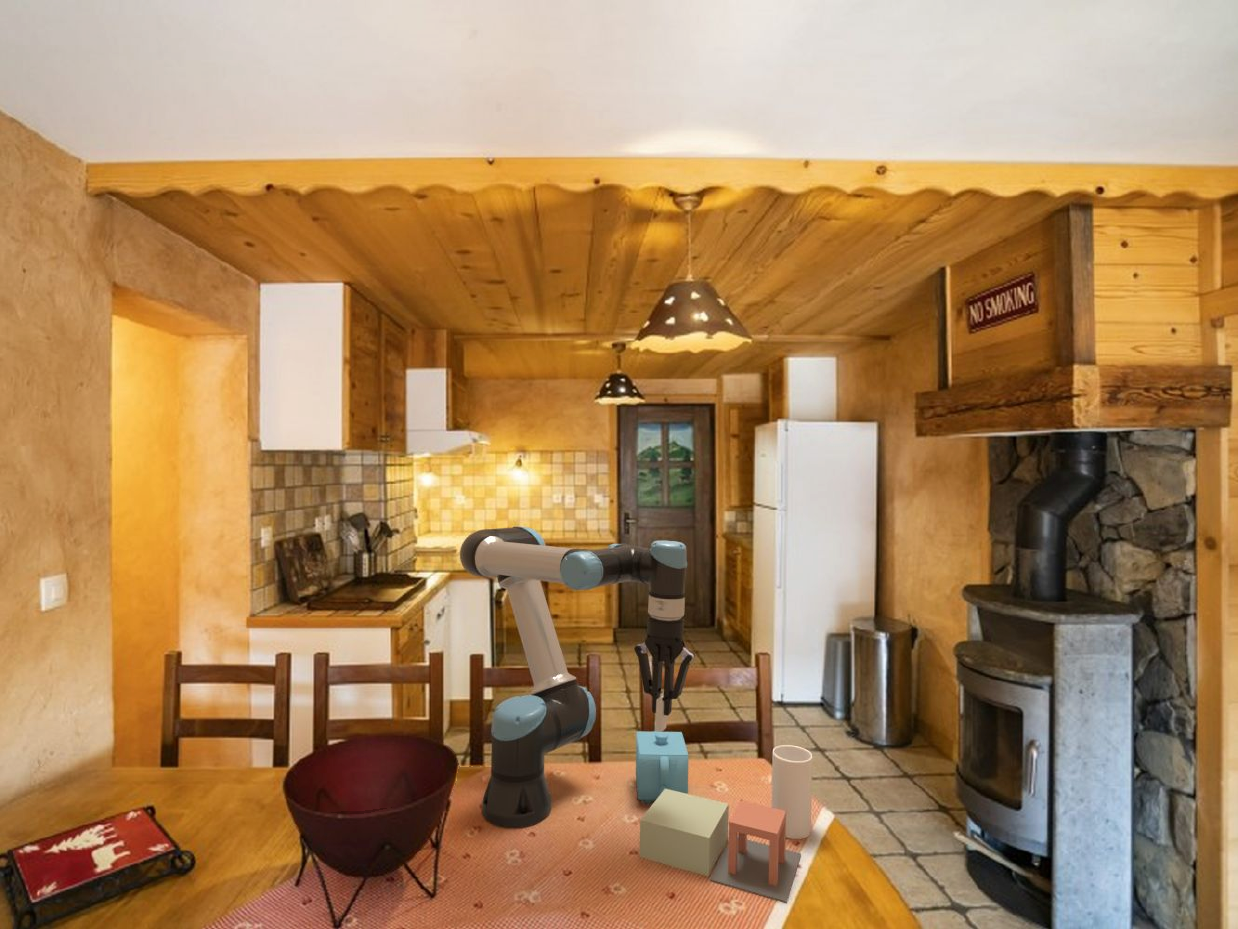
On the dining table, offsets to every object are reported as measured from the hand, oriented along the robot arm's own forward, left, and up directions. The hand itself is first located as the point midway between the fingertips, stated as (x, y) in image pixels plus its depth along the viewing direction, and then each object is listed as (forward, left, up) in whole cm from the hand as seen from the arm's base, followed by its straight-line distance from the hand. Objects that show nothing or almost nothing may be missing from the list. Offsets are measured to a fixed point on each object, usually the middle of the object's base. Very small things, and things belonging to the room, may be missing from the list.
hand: (660, 729), depth 135 cm
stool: (+17, -2, -17) cm, 24 cm away
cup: (+24, +15, -22) cm, 36 cm away
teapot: (-7, +18, -22) cm, 29 cm away
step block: (+6, -2, -22) cm, 23 cm away
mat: (+21, -2, -22) cm, 30 cm away
